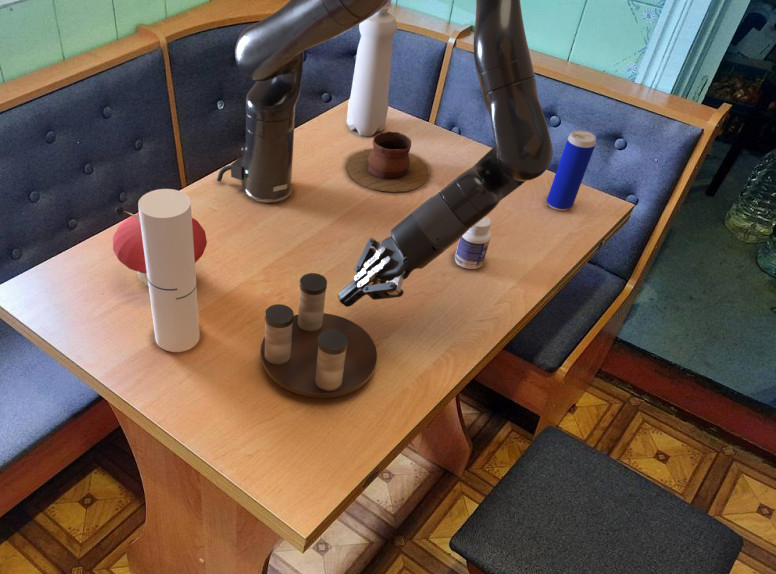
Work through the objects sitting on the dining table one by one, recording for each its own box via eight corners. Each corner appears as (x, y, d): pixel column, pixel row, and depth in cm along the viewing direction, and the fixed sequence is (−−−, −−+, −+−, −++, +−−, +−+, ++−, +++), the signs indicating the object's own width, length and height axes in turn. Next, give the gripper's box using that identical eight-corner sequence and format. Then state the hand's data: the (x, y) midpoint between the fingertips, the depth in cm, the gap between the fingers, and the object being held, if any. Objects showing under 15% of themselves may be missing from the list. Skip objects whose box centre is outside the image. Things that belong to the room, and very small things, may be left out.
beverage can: (572, 200, 149) (598, 132, 138) (571, 214, 145) (597, 145, 134) (546, 195, 150) (570, 127, 139) (544, 208, 146) (568, 139, 135)
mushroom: (196, 244, 135) (192, 172, 124) (218, 297, 124) (216, 223, 114) (111, 259, 131) (99, 185, 120) (127, 314, 121) (115, 239, 110)
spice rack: (238, 367, 110) (237, 321, 104) (296, 303, 121) (299, 257, 115) (343, 415, 104) (350, 369, 98) (395, 342, 115) (404, 297, 109)
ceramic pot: (434, 194, 149) (441, 163, 144) (348, 191, 149) (351, 160, 144) (423, 150, 161) (429, 120, 156) (343, 147, 161) (346, 117, 156)
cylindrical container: (155, 322, 119) (139, 189, 101) (199, 321, 120) (190, 188, 102) (154, 353, 114) (136, 218, 96) (200, 351, 115) (190, 217, 97)
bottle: (363, 115, 172) (379, -23, 150) (393, 129, 168) (414, -11, 146) (337, 127, 167) (350, -13, 146) (367, 142, 163) (385, 0, 141)
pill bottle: (482, 271, 131) (494, 230, 125) (453, 267, 132) (464, 226, 126) (483, 254, 135) (494, 213, 129) (454, 250, 136) (464, 209, 129)
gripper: (402, 191, 110) (317, 264, 117) (430, 243, 101) (337, 318, 108) (429, 218, 114) (346, 286, 121) (458, 270, 105) (367, 340, 113)
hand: (342, 301), depth 115 cm, fingers closed
